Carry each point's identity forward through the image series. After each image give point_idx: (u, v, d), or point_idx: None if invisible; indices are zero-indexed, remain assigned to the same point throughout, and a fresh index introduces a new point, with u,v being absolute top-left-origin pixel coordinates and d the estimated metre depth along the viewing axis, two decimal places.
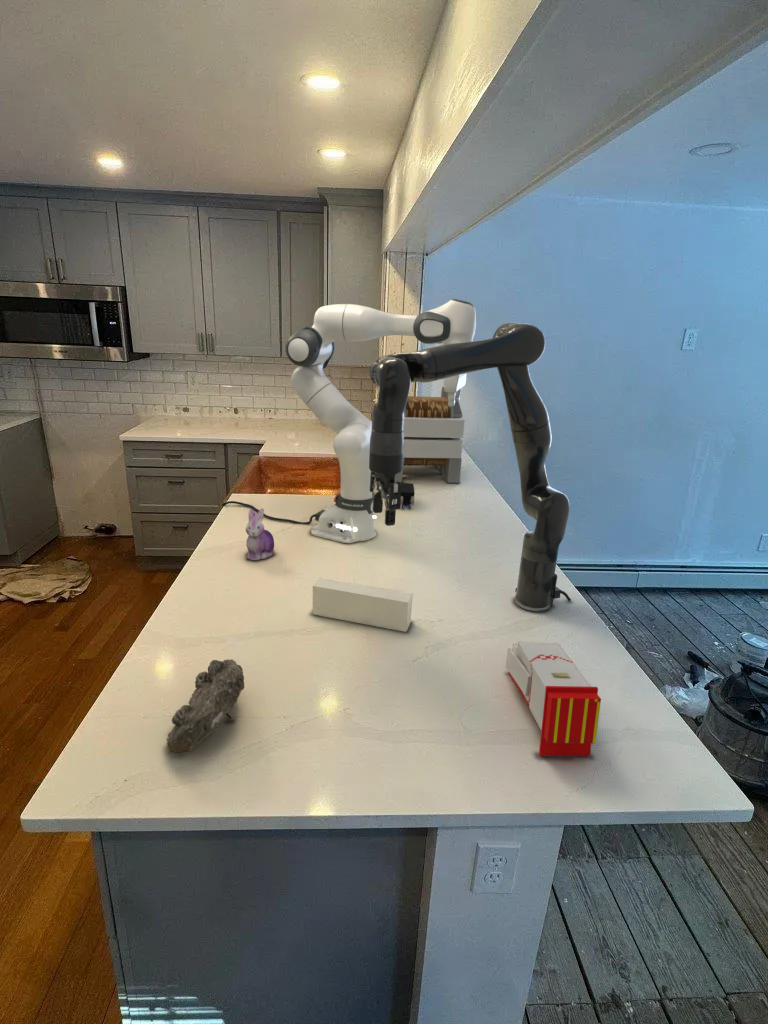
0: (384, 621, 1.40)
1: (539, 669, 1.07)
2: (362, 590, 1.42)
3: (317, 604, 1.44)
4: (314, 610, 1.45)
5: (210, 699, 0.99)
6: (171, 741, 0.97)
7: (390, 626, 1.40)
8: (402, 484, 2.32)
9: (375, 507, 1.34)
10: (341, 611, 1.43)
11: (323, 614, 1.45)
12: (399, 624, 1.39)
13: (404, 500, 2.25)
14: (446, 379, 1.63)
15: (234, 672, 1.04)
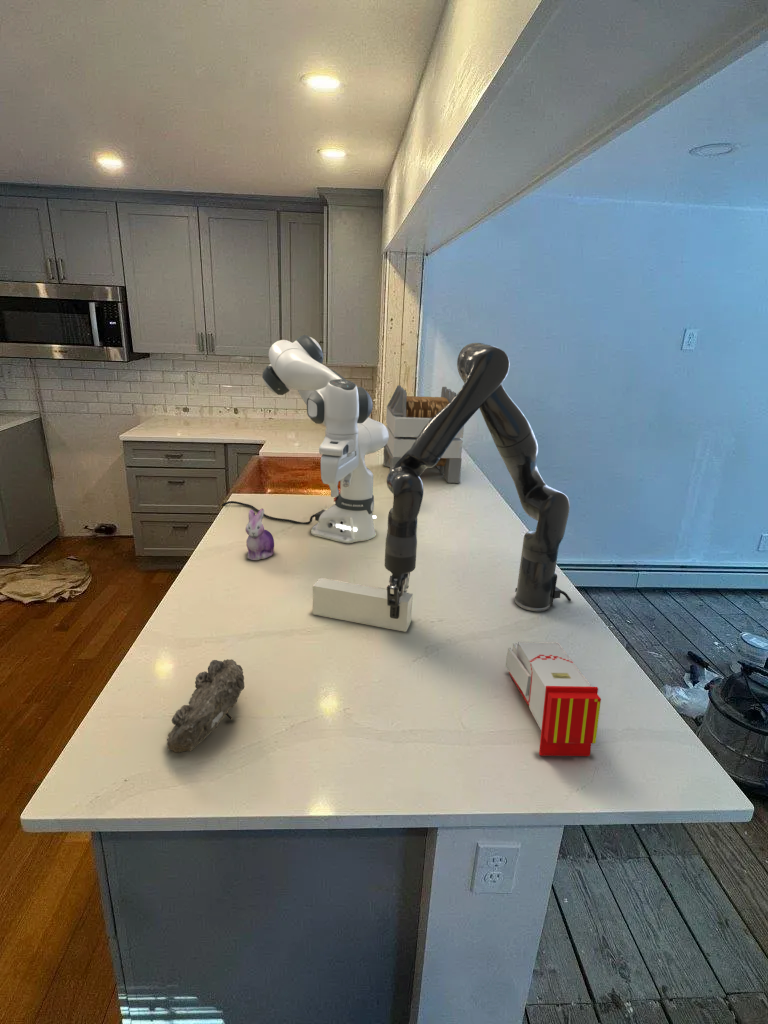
0: (384, 621, 1.40)
1: (539, 669, 1.07)
2: (362, 590, 1.42)
3: (317, 604, 1.44)
4: (314, 610, 1.45)
5: (210, 699, 0.99)
6: (171, 741, 0.97)
7: (390, 626, 1.40)
8: None
9: None
10: (341, 611, 1.43)
11: (323, 614, 1.45)
12: (399, 624, 1.39)
13: None
14: (323, 471, 1.45)
15: (234, 672, 1.04)
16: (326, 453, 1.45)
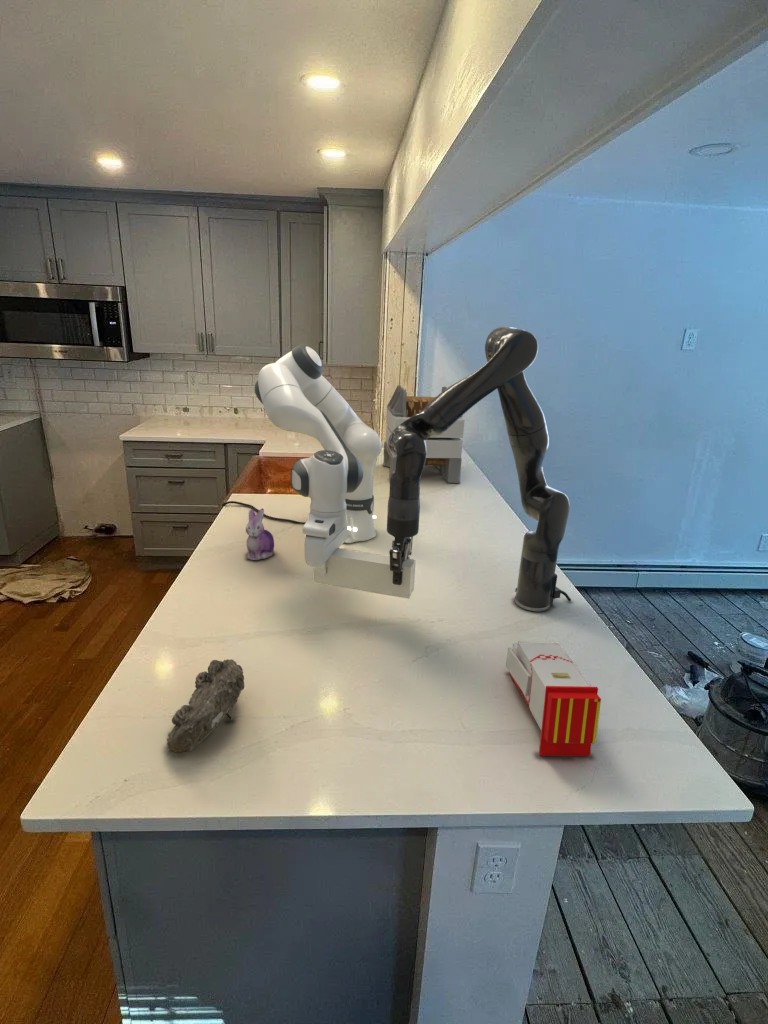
0: (386, 588, 1.37)
1: (539, 669, 1.07)
2: (364, 557, 1.38)
3: (318, 572, 1.41)
4: (315, 578, 1.42)
5: (210, 699, 0.99)
6: (171, 741, 0.97)
7: (393, 593, 1.37)
8: None
9: None
10: (343, 579, 1.40)
11: (324, 582, 1.42)
12: (402, 591, 1.36)
13: None
14: (307, 553, 1.31)
15: (234, 672, 1.04)
16: (310, 534, 1.31)
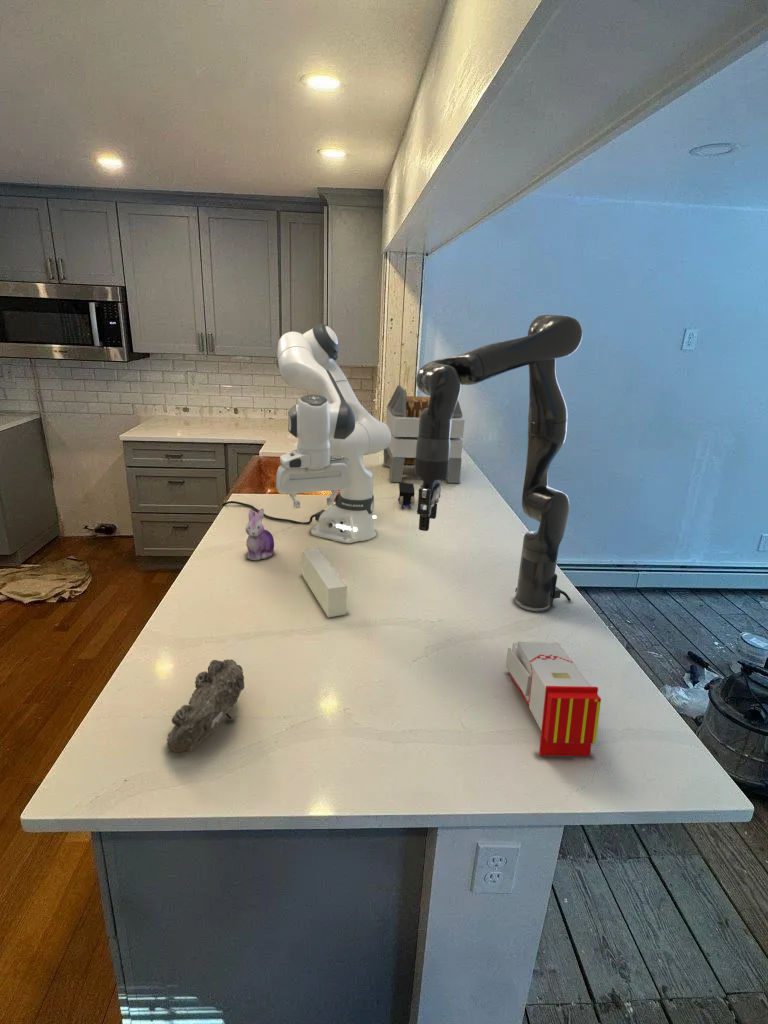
0: (321, 601, 1.49)
1: (539, 669, 1.07)
2: (322, 567, 1.53)
3: (303, 568, 1.64)
4: (303, 573, 1.65)
5: (210, 699, 0.99)
6: (171, 741, 0.97)
7: (323, 607, 1.48)
8: (402, 484, 2.32)
9: None
10: (309, 580, 1.58)
11: (305, 578, 1.63)
12: (326, 608, 1.45)
13: (404, 500, 2.25)
14: (276, 478, 1.51)
15: (234, 672, 1.04)
16: (280, 462, 1.50)
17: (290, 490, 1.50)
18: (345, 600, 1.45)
